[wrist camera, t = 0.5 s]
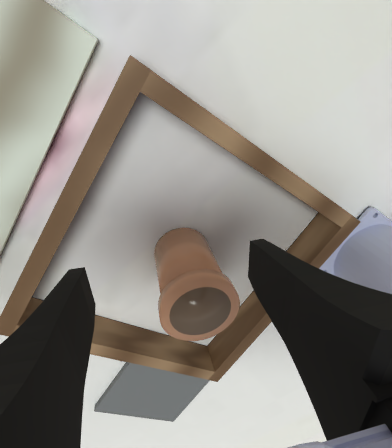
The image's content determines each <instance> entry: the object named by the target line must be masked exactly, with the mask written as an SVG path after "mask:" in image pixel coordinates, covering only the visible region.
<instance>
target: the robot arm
mask: <svg viewBox="0 0 392 448" xmlns="http://www.w3.org/2000/svg"><path fill="white" fill-rule="evenodd" d="M358 220H359V221H360V223H359V225H358V226H357V227H356V228H355V229H354V230H353V231H352V232H351V233H350V235H349V236H348V237H347V238H346V239H345V240H344V241H343V242H342V244H341V245H340V246H339V247H338V248H337V249H336V250H335V251H334V252H333V254H332V255H331V256H330V257H329V258H328V259H327V260H326V261H325V262H324V264H323V265H322V266H321V267H320V268H317V267H314V266H312V265H310V264H308V263H306V262H304V261H302V260H301V259H299V258H297V257H295V256H293V255H291V254H290V253H288V252H286V251H284V250H282V249H281V248H279V247H277V246H275V245H274V244H272V243H270V242H268V241H266V240H264V239H259V240H253V241H250V252H249V270H248V278H249V280H250V282H251V285H252V287H253V289H254V292H255V294H256V296H257V298H258V299H259V301H260V303H261V304H262V306H263V308H264V309H265V311H266V313H267V314H268V316H269V318H270V319H271V321H272V322H273V324H274V326H275V327H276V329H277V331H278V332H279V334H280V335H281V337H282V339H283V341H284V343H285V344H286V347H287V349H288V351H289V353H290V355H291V357H292V359H293V361H294V363H295V365H296V368H297V370H298V372H299V374H300V376H301V379H302V381H303V383H304V385H305V388H306V390H307V392H308V395H309V397H310V400H311V402H312V404H313V407H314V409H315V411H316V414H317V416H318V419H319V421H320V424H321V427H322V429H323V432H324V434H325V437H326V439H327V441H325V442H322V443H321V442H310V443H304V444H299V445H295V446H292V447H289V448H392V221H391V220H390V219H388V218H387V217H386V216H385V215H383V214H382V213H381V212H380V211H378V210H377V209H376V208H374V207H369V208H368V209H367V210H366V211H365V212H364V213H363V214H362V215H361V216H360V217H359V219H358ZM323 270H324V271H323ZM94 325H95V302H94V298H93V295H92V291H91V288H90V284H89V281H88V277H87V274H86V271H85V267H83V268H77V269H71V270H68V272H67V273H66V274H65V275H64V276H63V278H62V279H61V280H60V281H59V283H58V284H57V285H56V286H55V287H54V289H53V290H52V291H51V292H50V294H49V295H48V296H47V297H46V298H45V299H44V301H43V302H42V303H41V304H40V305H39V306H38V308H37V309H36V310H35V311H34V312H33V313H32V314H31V315H30V316H29V317H28V318H27V319H26V320H25V322H24V323H23V324H22V325H21V326H20V327H19V328H18V329H17V330H16V331H15V332H13V333H12V334H11V335H10V336H9V337H8V338H7V339H6V340H5V341H4V342H3V343H2V344H0V448H80V442H81V424H82V409H83V395H84V386H85V378H86V373H87V367H88V361H89V356H90V350H91V344H92V338H93V333H94Z"/></svg>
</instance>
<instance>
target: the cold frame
mask: <svg viewBox="0 0 392 448" xmlns="http://www.w3.org/2000/svg"><path fill="white" fill-rule="evenodd" d="M97 43H98V39H97V38H96V37H94V36H93V35H91V34H90V33H89V32H87V31H86V30H84V29H83V28H81V27H80V26H79V25H77V24H76V23H74V22H73V21H72V20H70V19H69V18H67V17H66V16H65V15H63V14H62V13H60V12H59V11H58V10H56V9H55V8H53V7H52V6H51V5H49V4H48V3H46V2H45V1H44V0H0V255H1V253H2V251H3V249H4V246H5V244H6V242H7V240H8V238H9V235H10V233H11V231H12V229H13V227H14V224H15V222H16V220H17V218H18V216H19V214H20V211H21V209H22V207H23V205H24V203H25V200H26V198H27V196H28V194H29V192H30V189H31V187H32V185H33V183H34V181H35V178H36V176H37V174H38V172H39V170H40V167H41V165H42V163H43V161H44V159H45V157H46V154H47V152H48V150H49V148H50V146H51V143H52V141H53V139H54V137H55V135H56V132H57V130H58V128H59V126H60V124H61V121H62V119H63V117H64V115H65V113H66V111H67V108H68V106H69V104H70V102H71V100H72V97H73V95H74V93H75V91H76V89H77V86H78V84H79V82H80V80H81V78H82V75H83V73H84V71H85V69H86V67H87V64H88V62H89V60H90V58H91V56H92V54H93V51H94V49H95V47H96V45H97ZM139 92H141V93H143V94H144V95H146V96H147V97H149V98H150V99H152V100H153V101H155V102H156V103H157V104H159V105H160V106H162V107H163V108H165V109H166V110H168V111H169V112H171V113H172V114H174V115H175V116H177V117H178V118H180V119H181V120H183V121H184V122H186V123H187V124H189V125H190V126H192V127H193V128H195V129H196V130H198V131H199V132H201V133H202V134H204V135H205V136H206V137H208V138H209V139H211V140H212V141H214V142H215V143H217V144H218V145H220V146H221V147H223V148H224V149H226V150H227V151H229V152H230V153H232V154H233V155H235V156H236V157H238V158H239V159H241V160H242V161H244V162H245V163H247V164H248V165H250V166H251V167H253V168H254V169H255V170H257V171H258V172H260V173H261V174H263V175H264V176H266V177H267V178H269V179H270V180H272V181H273V182H275V183H276V184H278V185H279V186H281V187H282V188H284V189H285V190H287V191H288V192H290V193H291V194H293V195H294V196H296V197H297V198H299V199H300V200H302V201H303V202H304V203H306V204H307V205H309V206H310V207H312V208H313V209H315V210H316V211H318V212H319V213H318V214H317V215H316V216H315V218H314V219H313V220H312V221H311V222H310V224H309V225H308V226H307V227H306V228H305V230H304V231H303V232H302V233H301V234H300V236H299V237H298V238H297V239H296V240H295V242H294V243H293V244H292V245H291V246H290V248H289V249H288V250H287V251H286V252H288V253H290V254H291V255H293V256H295V257H297V258H299V259H301V260H302V261H304V262H306V263H308V264H310V265H312V266H314V267H317V268H320V267H321V266H322V265H323V264H324V262H325V261H326V260H327V259H328V258H329V257H330V256H331V255H332V254H333V252H334V251H335V250H336V249H337V248H338V247H339V246H340V245H341V244H342V242H343V241H344V240H345V239H346V238H347V237H348V236H349V235H350V233H351V232H352V231H353V230H354V229H355V228H356V227H357V226H358V225H359V223H360V221H359V220H358V219H356V218H355V217H354V216H352V215H351V214H349V213H348V212H347V211H345V210H344V209H342V208H341V207H340V206H338V205H337V204H336V203H334V202H333V201H331V200H330V199H329V198H327V197H326V196H324V195H323V194H322V193H320V192H319V191H318V190H316V189H315V188H313V187H312V186H311V185H309V184H308V183H306V182H305V181H304V180H302V179H301V178H300V177H298V176H297V175H295V174H294V173H293V172H291V171H290V170H289V169H287V168H286V167H284V166H283V165H282V164H280V163H279V162H277V161H276V160H275V159H273V158H272V157H271V156H269V155H268V154H266V153H265V152H264V151H262V150H261V149H259V148H258V147H257V146H255V145H254V144H253V143H251V142H250V141H248V140H247V139H246V138H244V137H243V136H241V135H240V134H239V133H237V132H236V131H235V130H233V129H232V128H230V127H229V126H228V125H226V124H225V123H223V122H222V121H221V120H219V119H218V118H217V117H215V116H214V115H212V114H211V113H210V112H208V111H207V110H206V109H204V108H203V107H201V106H200V105H199V104H197V103H196V102H194V101H193V100H192V99H190V98H189V97H188V96H186V95H185V94H183V93H182V92H181V91H179V90H178V89H176V88H175V87H174V86H172V85H171V84H170V83H168V82H167V81H165V80H164V79H163V78H161V77H160V76H158V75H157V74H156V73H154V72H153V71H152V70H150V69H149V68H147V67H146V66H145V65H143V64H142V63H140V62H139V61H138V60H136V59H135V58H134V57H132V56H131V55H130V56H129V58H128V60H127V62H126V64H125V66H124V68H123V70H122V72H121V74H120V76H119V78H118V80H117V82H116V84H115V86H114V88H113V90H112V92H111V95H110V97H109V99H108V101H107V103H106V105H105V107H104V109H103V111H102V113H101V115H100V117H99V119H98V121H97V123H96V125H95V127H94V129H93V131H92V133H91V135H90V137H89V139H88V141H87V143H86V145H85V147H84V149H83V151H82V153H81V155H80V157H79V159H78V161H77V163H76V165H75V167H74V169H73V171H72V173H71V175H70V177H69V179H68V181H67V183H66V185H65V187H64V189H63V191H62V193H61V195H60V197H59V199H58V201H57V203H56V205H55V207H54V209H53V211H52V213H51V215H50V217H49V219H48V221H47V223H46V225H45V227H44V229H43V231H42V233H41V235H40V237H39V239H38V242H37V244H36V246H35V248H34V250H33V252H32V254H31V256H30V258H29V260H28V262H27V264H26V266H25V268H24V270H23V272H22V274H21V276H20V278H19V280H18V282H17V284H16V286H15V288H14V290H13V292H12V294H11V296H10V298H9V300H8V302H7V304H6V306H5V308H4V310H3V312H2V314H1V316H0V335H5V336H10V335H11V334H12V333H13V332H15V331H16V330H17V329H18V328H19V327H20V326H21V325H22V324H23V323H24V322H25V320H26V319H27V318H28V317H29V316H30V315H31V314H32V313H33V312H34V311H35V310H36V309H37V308H38V306H39V305H40V304H41V303H42V302H43V300H39V299H36V298H32V295H33V294H34V292H35V290H36V288H37V286H38V284H39V282H40V280H41V278H42V276H43V275H44V273H45V271H46V269H47V267H48V265H49V263H50V261H51V259H52V257H53V256H54V254H55V252H56V250H57V248H58V246H59V244H60V242H61V240H62V239H63V237H64V235H65V233H66V231H67V229H68V227H69V225H70V223H71V221H72V220H73V218H74V216H75V214H76V212H77V210H78V208H79V206H80V204H81V202H82V201H83V199H84V197H85V195H86V193H87V191H88V189H89V187H90V185H91V184H92V182H93V180H94V178H95V176H96V174H97V172H98V170H99V168H100V166H101V165H102V163H103V161H104V159H105V157H106V155H107V153H108V151H109V149H110V147H111V146H112V144H113V142H114V140H115V138H116V136H117V134H118V132H119V130H120V129H121V127H122V125H123V123H124V121H125V119H126V117H127V115H128V113H129V111H130V110H131V108H132V106H133V104H134V102H135V100H136V98H137V96H138V94H139ZM271 322H272V321H271V319H270V318H269V316H268V314H267V313H266V311H265V309H264V308H263V306H262V304H261V303H260V301H259V299H258V298H257V296H256V294H255V292H254V291H253V292H252V293H251V294H250V296H249V297H248V298H247V299H246V300H245V302H244V303H243V304H242V305H241V306H240V308H239V311H238V313H237V316H236V317H235V319H234V320H233V322H232V323H231V324H230V325H229V326H228V327H227V328H226V329H224V330H223V331H222V332H220V333H218V334H217V335H216V336H215V338H214V339H213V340H212V341H211V342H210V344H209V345H208V346H204V345H200V344H196V343H193V342H189V341H184V340H179V339H176V338H174V337H171V336H168V335H164V334H161V333H157V332H154V331H150V330H146V329H143V328H139V327H136V326H132V325H129V324H125V323H121V322H118V321H114V320H111V319H107V318H104V317H100V316H96V315H95V325H94V333H93V338H92V344H91V350H90V354H92V355H97V356H101V357H106V358H110V359H115V360H120V361H124V362H129V363H133V364H138V365H143V366H147V367H152V368H156V369H161V370H166V371H170V372H175V373H179V374H184V375H189V376H193V377H198V378H202V379H207V380H211V381H216V382H218V381H219V380H220V378H221V377H222V376H223V375H224V374H225V373H226V372H227V371H228V370H229V368H230V367H231V366H232V365H233V364H234V363H235V362H236V361H237V360H238V358H239V357H240V356H241V355H242V354H243V353H244V352H245V351H246V349H247V348H248V347H249V346H250V345H251V344H252V343H253V342H254V341H255V339H256V338H257V337H258V336H259V335H260V334H261V333H262V332H263V331H264V329H265V328H266V327H267V326H268V325H269V324H270V323H271Z"/></svg>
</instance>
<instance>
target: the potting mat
mask: <svg viewBox="0 0 392 448" xmlns="http://www.w3.org/2000/svg"><path fill="white" fill-rule="evenodd" d="M209 381H210V380H207V379H202V378H198V377H193V376H189V375H184V374H179V373H175V372H170V371H166V370H161V369H156V368H152V367H147V366H143V365H138V364H133V363H129V362H126V364H125V365H124V366H123V368H122V369H121V370H120V372H119V373H118V375H117V376H116V377H115V379H114V380H113V381H112V383H111V384H110V386H109V387H108V388H107V390H106V391H105V392H104V394H103V395H102V397H101V398H100V399H99V401H98V402H97V403H96V405H95V410H94V411H96V412H103V413H111V414H119V415H126V416H134V417H142V418H149V419H157V420H165V421H172V422H173V421H174V420H175V419H176V418H177V417H178V416H179V415H180V414H181V412H182V411H183V410H184V409H185V408H186V407H187V406H188V404H189V403H190V402H191V401H192V400H193V399H194V398H195V397H196V395H197V394H198V393H199V392H200V391H201V390H202V389H203V387H204V386H205V385H206V384H207V383H208V382H209Z"/></svg>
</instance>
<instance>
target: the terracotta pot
mask: <svg viewBox="0 0 392 448" xmlns="http://www.w3.org/2000/svg"><path fill="white" fill-rule="evenodd" d="M154 257H155V263H156V269H157V275H158V281H159V287H160V293H161V295H160V297H159V301H158V310H159V317H160V322H161V325H162V327H163V329H164V330H165V332H167V333H168V334H169V335H170V336H172V337H174V338H176V339H179V340H184V341H198V340H203V339H207V338H210V337H212V336H215V335H217V334H218V333H220V332H222V331H223V330H224V329H226V328H227V327H228V326H229V325H230V324H231V323H232V322H233V320H234V319H235V317H236V316H237V313H238V311H239V306H240V300H239V296H238V294H237V292H236V290H235V288H234V286H233V284H232V282H231V281H230V279H229V278H228V277H227V276H225V275H224V274H222V272H221V270H220V268H219V266H218V263H217V261H216V259H215V257H214V255H213V253H212V251H211V249H210V247H209V245H208V243H207V241H206V239H205V237H204V236H203V235H202V234H201V233H200V232H198V231H196V230H194V229H191V228H178V229H174V230H171V231H169V232H168V233H166V234H165V235H163V236H162V237H161V238H160V239H159V241H158V242H157V244H156V247H155V250H154Z"/></svg>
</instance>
